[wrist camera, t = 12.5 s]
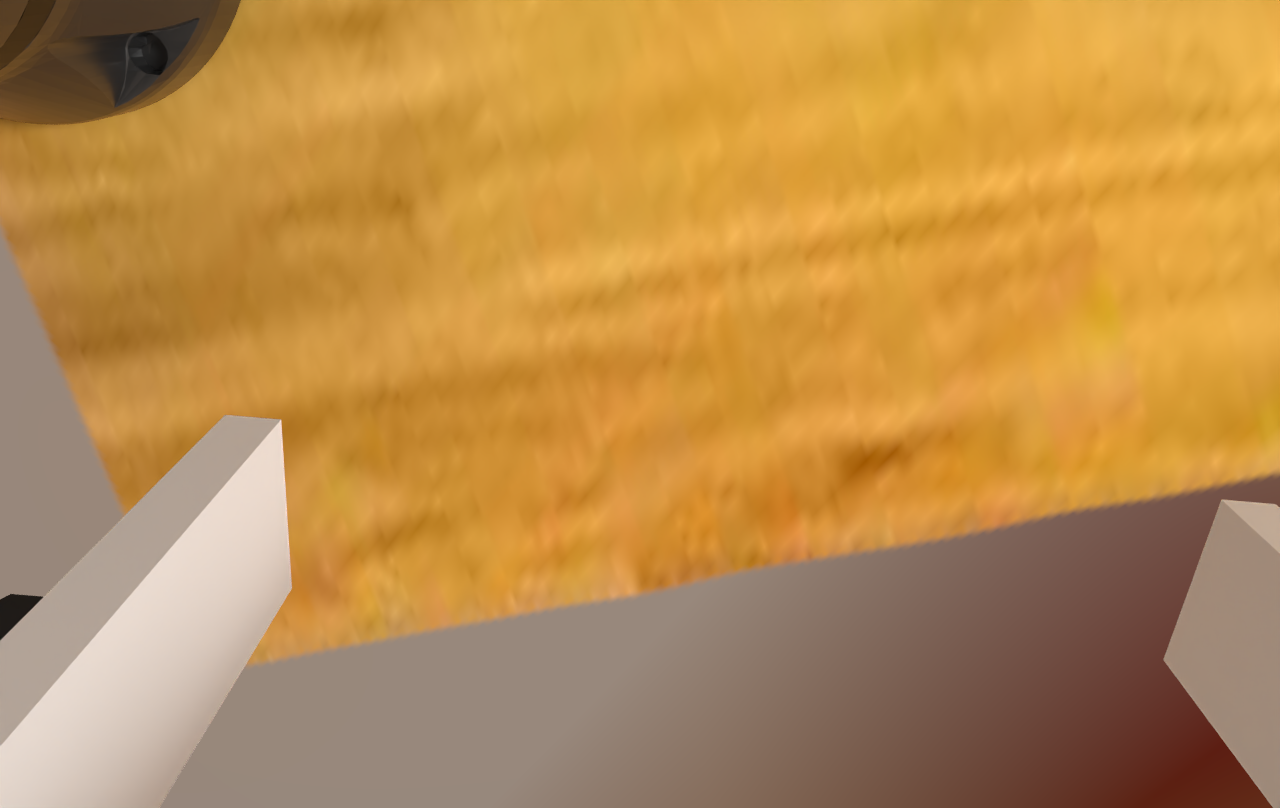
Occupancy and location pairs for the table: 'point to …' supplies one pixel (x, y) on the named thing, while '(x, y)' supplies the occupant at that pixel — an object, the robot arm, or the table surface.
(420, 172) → the table surface
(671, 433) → the table surface
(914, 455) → the table surface
